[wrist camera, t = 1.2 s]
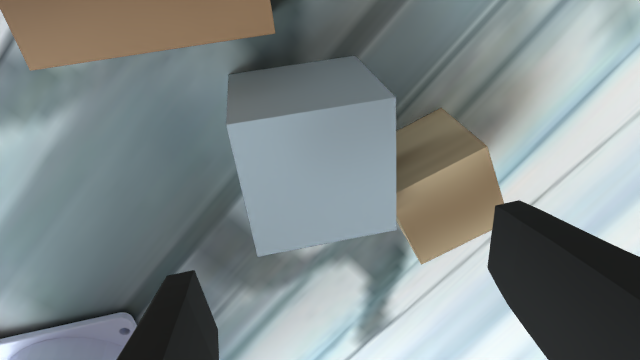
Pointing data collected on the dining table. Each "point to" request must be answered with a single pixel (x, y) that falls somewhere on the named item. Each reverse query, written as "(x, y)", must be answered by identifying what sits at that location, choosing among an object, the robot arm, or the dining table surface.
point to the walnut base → (127, 26)
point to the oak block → (443, 185)
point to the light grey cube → (313, 152)
